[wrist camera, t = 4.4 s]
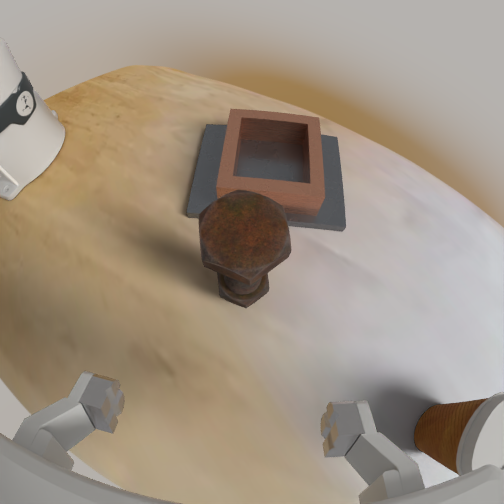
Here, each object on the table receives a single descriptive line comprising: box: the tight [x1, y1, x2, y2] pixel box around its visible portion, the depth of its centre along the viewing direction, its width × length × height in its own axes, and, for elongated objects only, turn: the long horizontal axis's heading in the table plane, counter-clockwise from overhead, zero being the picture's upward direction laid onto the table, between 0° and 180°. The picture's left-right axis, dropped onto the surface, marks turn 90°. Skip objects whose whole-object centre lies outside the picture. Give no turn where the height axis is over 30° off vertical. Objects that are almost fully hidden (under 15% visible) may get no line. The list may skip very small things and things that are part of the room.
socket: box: [187, 109, 346, 231], centre depth 34 cm, size 18×14×5 cm
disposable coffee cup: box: [414, 392, 504, 476], centre depth 19 cm, size 10×10×12 cm
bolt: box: [199, 190, 291, 308], centre depth 24 cm, size 6×5×15 cm
